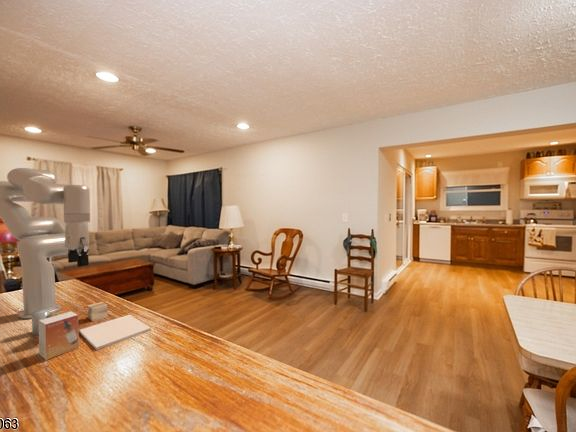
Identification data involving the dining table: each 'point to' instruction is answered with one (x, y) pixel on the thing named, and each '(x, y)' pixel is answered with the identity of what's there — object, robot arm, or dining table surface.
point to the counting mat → (113, 331)
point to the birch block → (97, 311)
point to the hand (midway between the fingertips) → (78, 263)
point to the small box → (58, 335)
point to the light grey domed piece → (36, 317)
